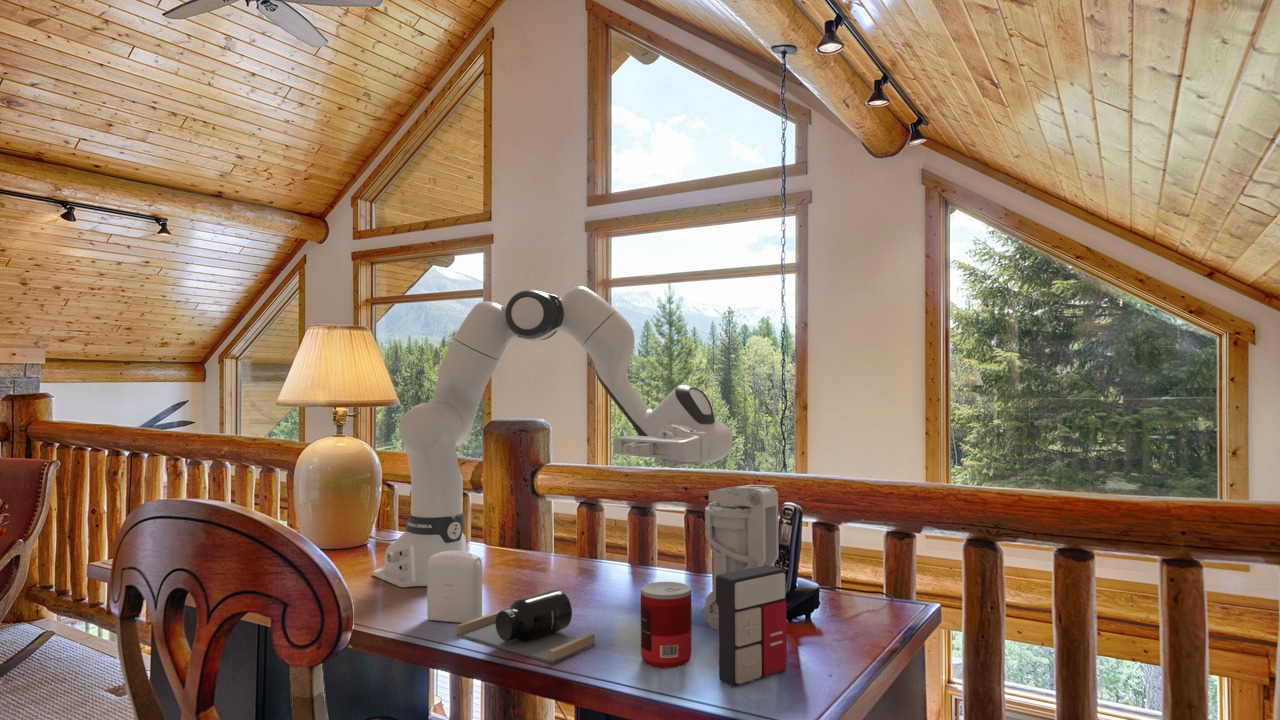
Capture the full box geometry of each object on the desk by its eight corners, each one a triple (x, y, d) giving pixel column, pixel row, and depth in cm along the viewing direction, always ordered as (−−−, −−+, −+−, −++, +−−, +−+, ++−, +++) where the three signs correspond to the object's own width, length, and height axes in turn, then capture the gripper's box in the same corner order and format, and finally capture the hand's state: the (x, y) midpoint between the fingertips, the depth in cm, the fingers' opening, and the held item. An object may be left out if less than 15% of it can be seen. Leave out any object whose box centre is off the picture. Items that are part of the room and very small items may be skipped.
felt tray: (456, 635, 124) (456, 624, 124) (499, 620, 132) (500, 610, 132) (553, 663, 111) (553, 651, 111) (594, 645, 119) (594, 633, 119)
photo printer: (423, 621, 132) (423, 552, 132) (435, 614, 136) (436, 547, 136) (474, 626, 129) (474, 555, 129) (485, 618, 133) (486, 550, 134)
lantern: (693, 624, 130) (693, 483, 131) (728, 611, 137) (727, 478, 138) (754, 642, 121) (753, 490, 122) (788, 627, 128) (786, 484, 129)
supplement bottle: (578, 620, 123) (520, 640, 115) (557, 633, 127) (500, 654, 119) (564, 582, 126) (506, 599, 117) (543, 596, 130) (486, 613, 121)
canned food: (701, 658, 113) (701, 587, 114) (668, 673, 108) (668, 598, 108) (663, 646, 119) (663, 578, 119) (630, 660, 113) (630, 588, 113)
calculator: (736, 689, 102) (735, 581, 102) (715, 680, 105) (715, 574, 106) (790, 672, 108) (789, 569, 109) (769, 663, 112) (768, 564, 112)
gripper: (640, 428, 161) (593, 431, 151) (712, 432, 146) (664, 435, 136) (640, 457, 160) (593, 462, 151) (712, 464, 146) (665, 469, 136)
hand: (627, 449), depth 143 cm, fingers closed
